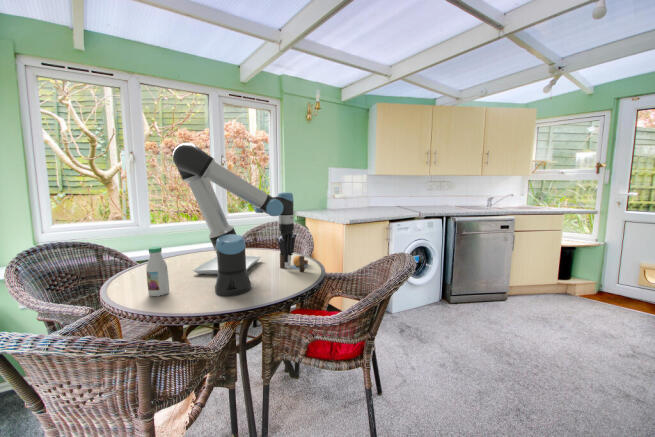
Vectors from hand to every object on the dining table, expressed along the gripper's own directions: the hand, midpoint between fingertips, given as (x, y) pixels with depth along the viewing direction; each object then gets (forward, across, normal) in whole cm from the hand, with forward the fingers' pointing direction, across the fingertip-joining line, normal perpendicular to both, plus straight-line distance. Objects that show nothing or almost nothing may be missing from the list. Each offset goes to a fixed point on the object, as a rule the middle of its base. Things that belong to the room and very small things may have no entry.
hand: (287, 267), depth 152 cm
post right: (+2, +4, -7) cm, 8 cm away
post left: (+2, +4, +7) cm, 8 cm away
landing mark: (+2, +9, 0) cm, 9 cm away
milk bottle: (+2, -50, +29) cm, 58 cm away
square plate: (+3, -12, +31) cm, 33 cm away
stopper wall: (+2, +14, 0) cm, 14 cm away
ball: (-1, +9, 0) cm, 9 cm away
